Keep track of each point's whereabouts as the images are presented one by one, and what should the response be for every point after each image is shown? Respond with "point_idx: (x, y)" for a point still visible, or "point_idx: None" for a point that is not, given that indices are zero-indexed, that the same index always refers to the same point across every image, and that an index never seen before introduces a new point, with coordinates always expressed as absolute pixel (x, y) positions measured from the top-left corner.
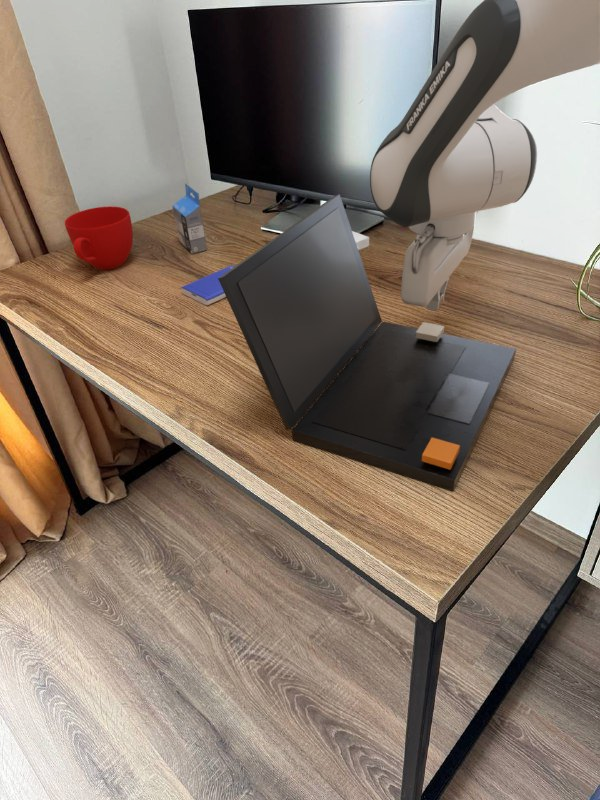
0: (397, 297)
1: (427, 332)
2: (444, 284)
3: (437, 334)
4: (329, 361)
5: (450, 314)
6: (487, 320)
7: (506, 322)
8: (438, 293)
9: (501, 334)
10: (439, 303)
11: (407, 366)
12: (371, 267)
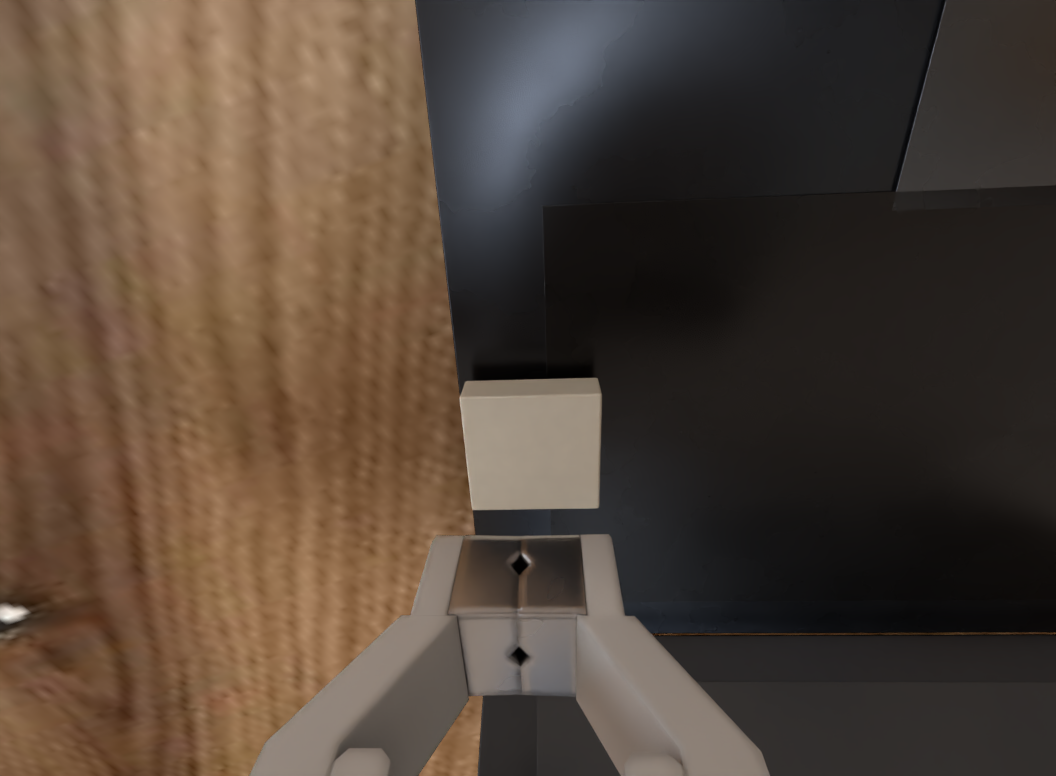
0: (210, 630)
1: (575, 456)
2: (386, 710)
3: (577, 402)
4: (1050, 725)
5: (181, 408)
6: (92, 210)
7: (22, 85)
8: (711, 723)
9: (178, 68)
10: (572, 568)
11: (860, 428)
12: (79, 757)
